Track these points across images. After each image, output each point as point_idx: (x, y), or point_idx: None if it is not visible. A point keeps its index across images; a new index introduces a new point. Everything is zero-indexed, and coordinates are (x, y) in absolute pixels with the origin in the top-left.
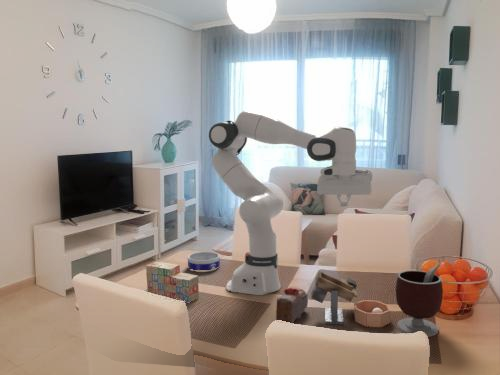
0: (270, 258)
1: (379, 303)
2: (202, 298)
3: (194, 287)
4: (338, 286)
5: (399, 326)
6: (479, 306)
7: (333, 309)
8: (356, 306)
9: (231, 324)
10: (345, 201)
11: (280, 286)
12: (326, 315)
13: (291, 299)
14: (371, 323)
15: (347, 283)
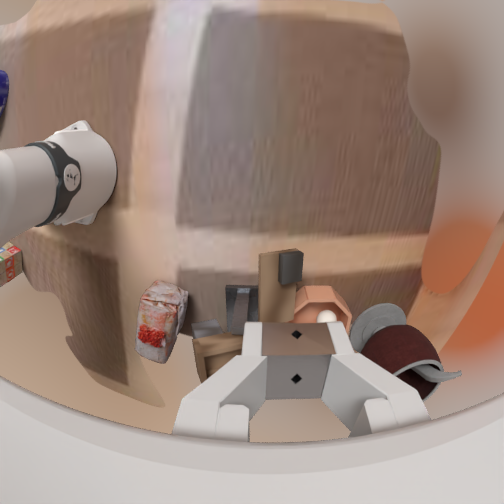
0: (53, 216)
1: (338, 305)
2: (25, 249)
3: (7, 266)
4: None
5: (351, 337)
6: (492, 235)
7: None
8: None
9: (96, 337)
10: (321, 377)
11: (115, 167)
12: (229, 319)
13: (160, 358)
14: None
15: (277, 272)
